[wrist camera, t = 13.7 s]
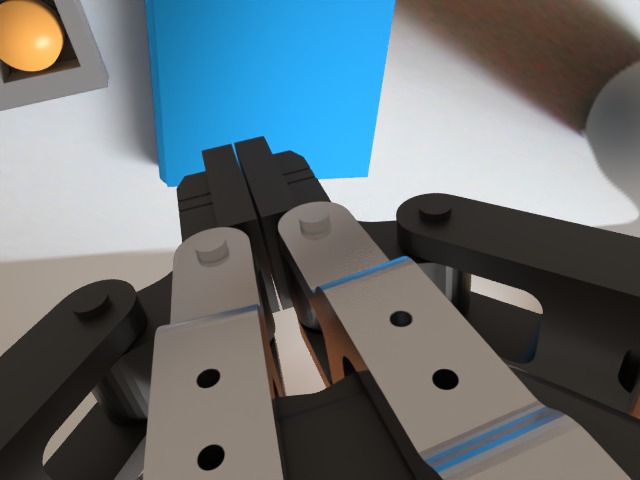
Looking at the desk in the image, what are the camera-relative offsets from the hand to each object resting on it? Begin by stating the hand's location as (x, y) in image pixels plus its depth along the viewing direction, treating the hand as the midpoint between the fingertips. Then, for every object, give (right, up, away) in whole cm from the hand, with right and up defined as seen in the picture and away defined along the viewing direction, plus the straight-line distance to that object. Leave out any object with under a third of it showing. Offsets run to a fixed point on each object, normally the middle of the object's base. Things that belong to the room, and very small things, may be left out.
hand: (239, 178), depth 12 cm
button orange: (-17, +12, +21) cm, 29 cm away
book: (-2, +16, +25) cm, 30 cm away
